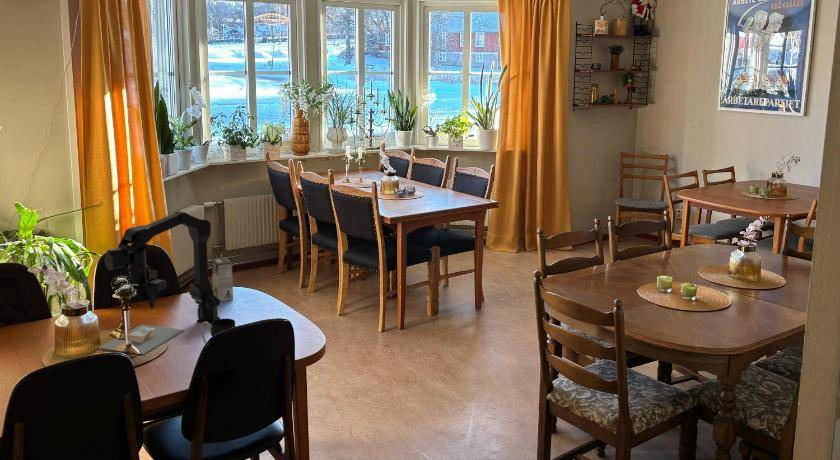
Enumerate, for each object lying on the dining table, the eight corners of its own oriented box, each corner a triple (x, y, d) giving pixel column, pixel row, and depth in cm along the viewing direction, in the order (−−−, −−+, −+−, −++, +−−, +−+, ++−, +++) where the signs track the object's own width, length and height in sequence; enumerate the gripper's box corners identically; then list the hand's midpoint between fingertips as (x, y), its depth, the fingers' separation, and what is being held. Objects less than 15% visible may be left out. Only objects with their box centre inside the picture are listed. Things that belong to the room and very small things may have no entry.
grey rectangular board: (184, 331, 283) (184, 329, 283) (143, 355, 260) (143, 353, 260) (141, 325, 288) (141, 324, 288) (98, 348, 265) (98, 347, 265)
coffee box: (212, 295, 323) (210, 258, 320) (227, 293, 327) (225, 256, 323) (218, 302, 316) (216, 264, 312) (234, 299, 319) (232, 262, 315)
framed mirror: (142, 343, 270) (141, 335, 269) (129, 341, 271) (129, 334, 270) (155, 335, 277) (155, 328, 277) (143, 333, 278) (142, 326, 278)
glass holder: (226, 373, 246) (223, 328, 243) (193, 364, 253) (190, 321, 250) (244, 364, 254) (242, 320, 250) (212, 355, 261) (210, 313, 257)
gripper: (174, 260, 273) (177, 302, 277) (129, 256, 279) (132, 297, 282) (155, 268, 263) (158, 312, 267) (108, 264, 268) (112, 307, 272)
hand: (140, 307), depth 272 cm, fingers open, 9 cm apart
